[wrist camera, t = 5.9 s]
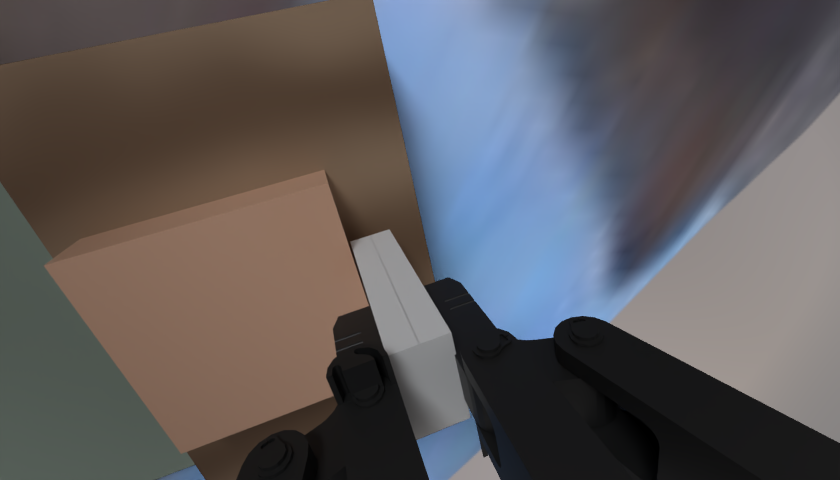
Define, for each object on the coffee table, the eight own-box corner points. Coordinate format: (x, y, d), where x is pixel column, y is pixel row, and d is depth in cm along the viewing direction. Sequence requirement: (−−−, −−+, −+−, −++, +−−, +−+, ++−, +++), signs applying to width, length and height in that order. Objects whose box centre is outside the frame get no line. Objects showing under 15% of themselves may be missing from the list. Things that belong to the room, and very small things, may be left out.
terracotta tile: (80, 239, 13) (43, 265, 11) (324, 169, 14) (327, 183, 12) (194, 412, 16) (181, 453, 14) (381, 343, 17) (391, 373, 16)
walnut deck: (24, 78, 14) (-72, 79, 10) (354, 11, 16) (371, -8, 12) (231, 427, 21) (217, 497, 18) (436, 352, 23) (461, 401, 20)
